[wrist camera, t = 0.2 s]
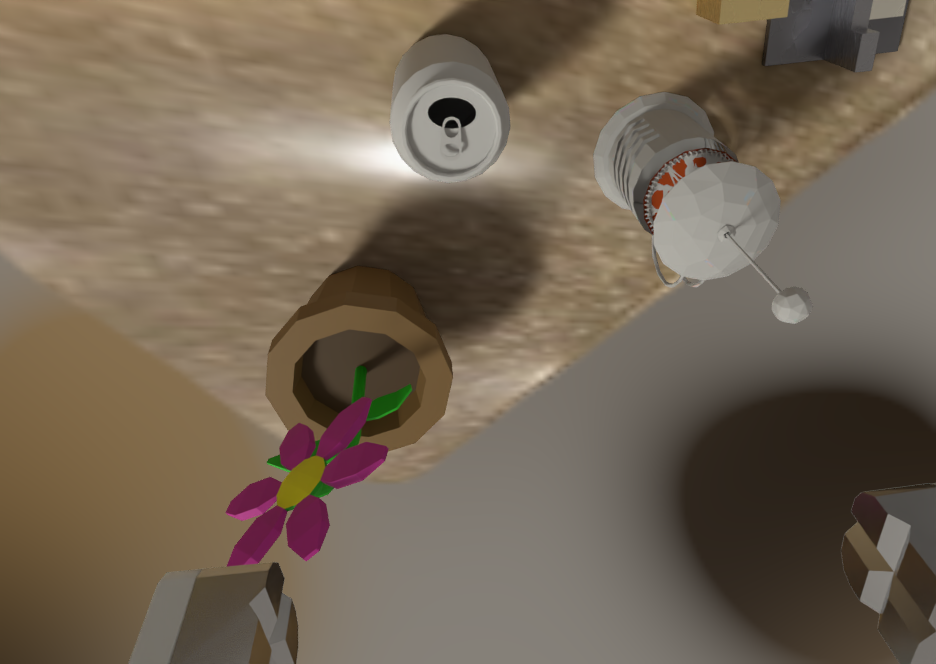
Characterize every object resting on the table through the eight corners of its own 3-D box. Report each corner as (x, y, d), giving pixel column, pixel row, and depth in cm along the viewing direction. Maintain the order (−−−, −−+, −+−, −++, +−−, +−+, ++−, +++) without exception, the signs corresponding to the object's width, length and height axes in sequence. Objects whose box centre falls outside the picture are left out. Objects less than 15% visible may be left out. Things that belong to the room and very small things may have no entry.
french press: (727, 92, 54) (930, 222, 33) (696, 232, 60) (851, 417, 39) (601, 90, 53) (726, 222, 32) (583, 232, 59) (678, 420, 38)
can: (497, 34, 51) (519, 70, 41) (490, 137, 55) (508, 194, 45) (393, 29, 50) (388, 64, 40) (393, 134, 54) (389, 190, 44)
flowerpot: (381, 211, 57) (358, 466, 32) (478, 332, 64) (522, 621, 39) (248, 301, 61) (133, 595, 35) (353, 406, 68) (319, 717, 42)
